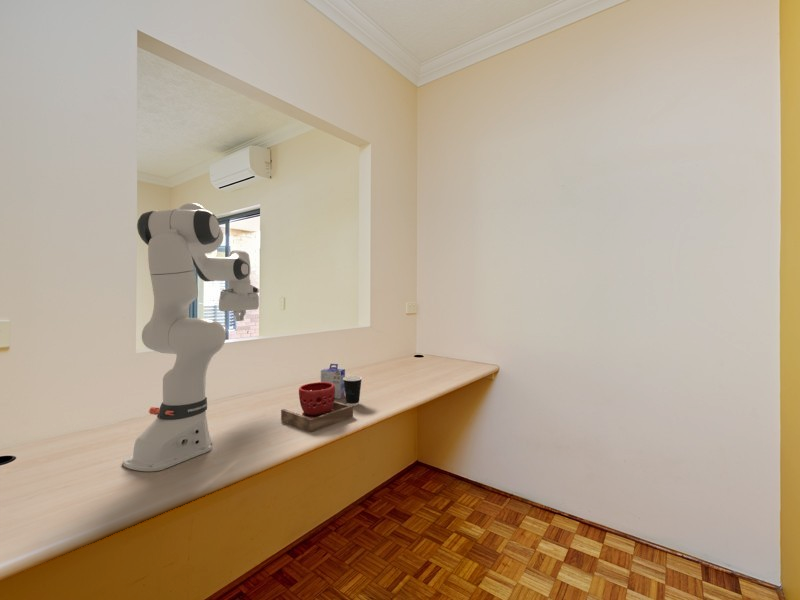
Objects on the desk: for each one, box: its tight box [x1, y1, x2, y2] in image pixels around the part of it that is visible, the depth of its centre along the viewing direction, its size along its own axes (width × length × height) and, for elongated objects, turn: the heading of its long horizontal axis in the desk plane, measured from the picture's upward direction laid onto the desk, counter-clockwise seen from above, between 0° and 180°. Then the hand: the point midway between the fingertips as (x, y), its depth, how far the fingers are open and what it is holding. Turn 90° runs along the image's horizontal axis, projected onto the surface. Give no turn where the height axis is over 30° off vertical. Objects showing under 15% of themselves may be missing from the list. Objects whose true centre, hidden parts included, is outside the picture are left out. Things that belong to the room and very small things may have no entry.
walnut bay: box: [280, 400, 354, 433], centre depth 136 cm, size 17×19×4 cm
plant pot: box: [298, 381, 336, 418], centre depth 137 cm, size 13×13×12 cm
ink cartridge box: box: [320, 363, 346, 400], centre depth 164 cm, size 10×6×14 cm, turn 78°
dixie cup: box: [343, 375, 363, 407], centre depth 154 cm, size 8×8×11 cm
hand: (239, 321), depth 159 cm, fingers closed
